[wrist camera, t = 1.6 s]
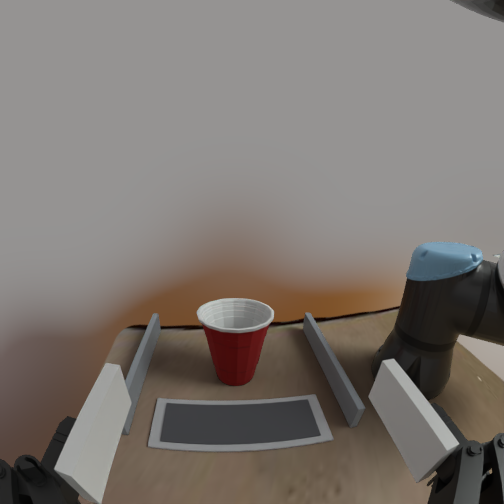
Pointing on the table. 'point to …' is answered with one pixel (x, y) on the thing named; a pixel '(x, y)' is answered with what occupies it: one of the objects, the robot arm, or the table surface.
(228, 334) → the plastic cup
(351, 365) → the table surface
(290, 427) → the pad
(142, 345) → the guide rails
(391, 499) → the table surface
